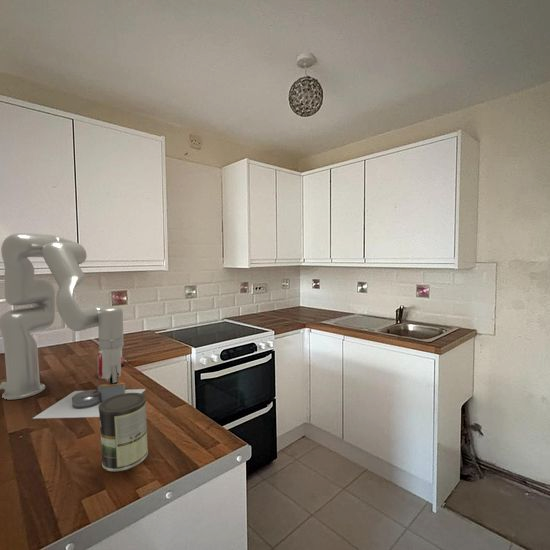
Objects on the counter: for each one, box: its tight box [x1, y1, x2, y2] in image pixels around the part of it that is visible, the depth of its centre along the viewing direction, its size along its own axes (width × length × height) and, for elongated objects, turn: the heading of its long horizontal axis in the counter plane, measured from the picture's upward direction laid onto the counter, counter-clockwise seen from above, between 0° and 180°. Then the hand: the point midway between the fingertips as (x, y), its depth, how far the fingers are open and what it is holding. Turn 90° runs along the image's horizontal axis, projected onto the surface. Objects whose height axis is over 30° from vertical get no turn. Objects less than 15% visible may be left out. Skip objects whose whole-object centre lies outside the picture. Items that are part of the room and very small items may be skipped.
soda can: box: [96, 349, 106, 380], centre depth 130 cm, size 7×7×12 cm
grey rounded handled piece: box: [72, 382, 126, 408], centre depth 106 cm, size 16×9×5 cm, turn 99°
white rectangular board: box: [31, 388, 147, 420], centre depth 105 cm, size 26×20×2 cm
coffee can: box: [98, 393, 149, 473], centre depth 77 cm, size 10×10×14 cm
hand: (113, 394), depth 110 cm, fingers closed
